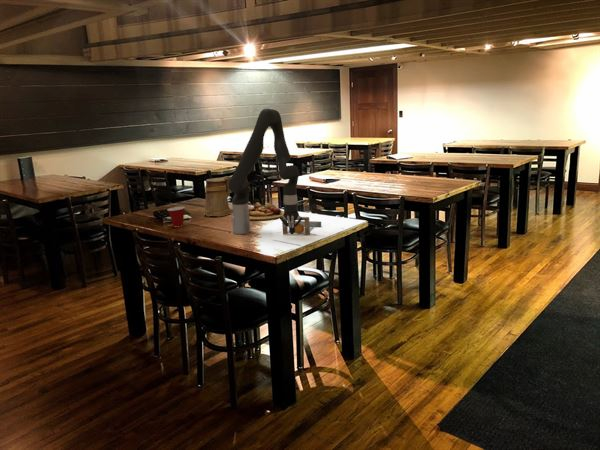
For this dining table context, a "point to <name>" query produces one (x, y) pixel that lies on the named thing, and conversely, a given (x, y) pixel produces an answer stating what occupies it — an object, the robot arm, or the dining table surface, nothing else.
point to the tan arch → (307, 226)
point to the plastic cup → (177, 215)
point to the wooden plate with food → (264, 212)
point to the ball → (299, 228)
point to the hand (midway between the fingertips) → (292, 233)
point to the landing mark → (304, 229)
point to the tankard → (217, 197)
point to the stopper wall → (311, 223)
